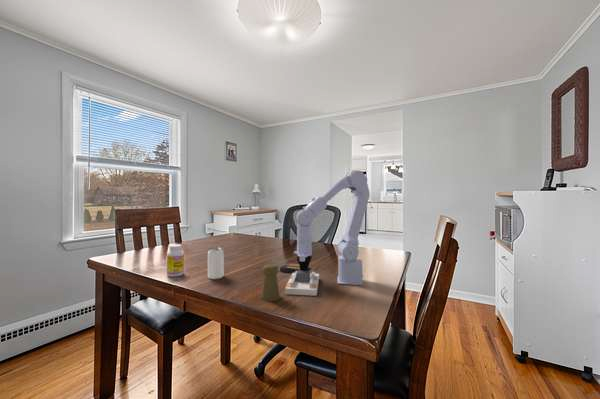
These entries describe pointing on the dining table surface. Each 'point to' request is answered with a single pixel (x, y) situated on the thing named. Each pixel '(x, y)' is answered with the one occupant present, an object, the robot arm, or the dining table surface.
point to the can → (215, 263)
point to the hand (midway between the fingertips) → (304, 275)
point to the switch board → (302, 285)
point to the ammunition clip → (290, 268)
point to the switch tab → (303, 276)
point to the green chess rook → (270, 283)
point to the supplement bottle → (175, 261)
